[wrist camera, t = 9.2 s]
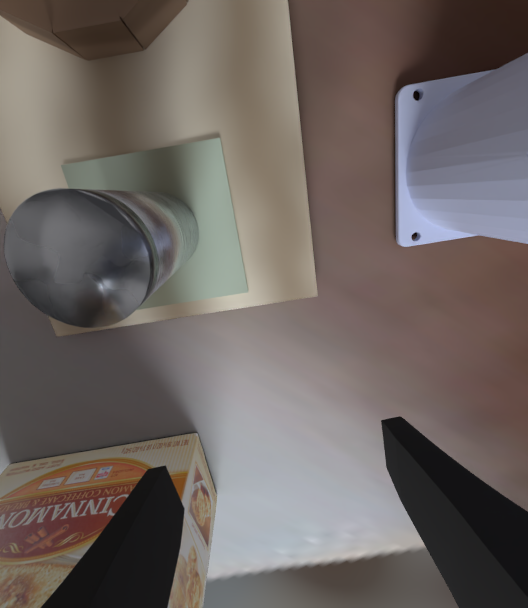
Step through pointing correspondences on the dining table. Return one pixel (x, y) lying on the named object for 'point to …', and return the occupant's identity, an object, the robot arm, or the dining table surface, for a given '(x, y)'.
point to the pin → (97, 251)
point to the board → (166, 133)
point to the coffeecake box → (97, 515)
